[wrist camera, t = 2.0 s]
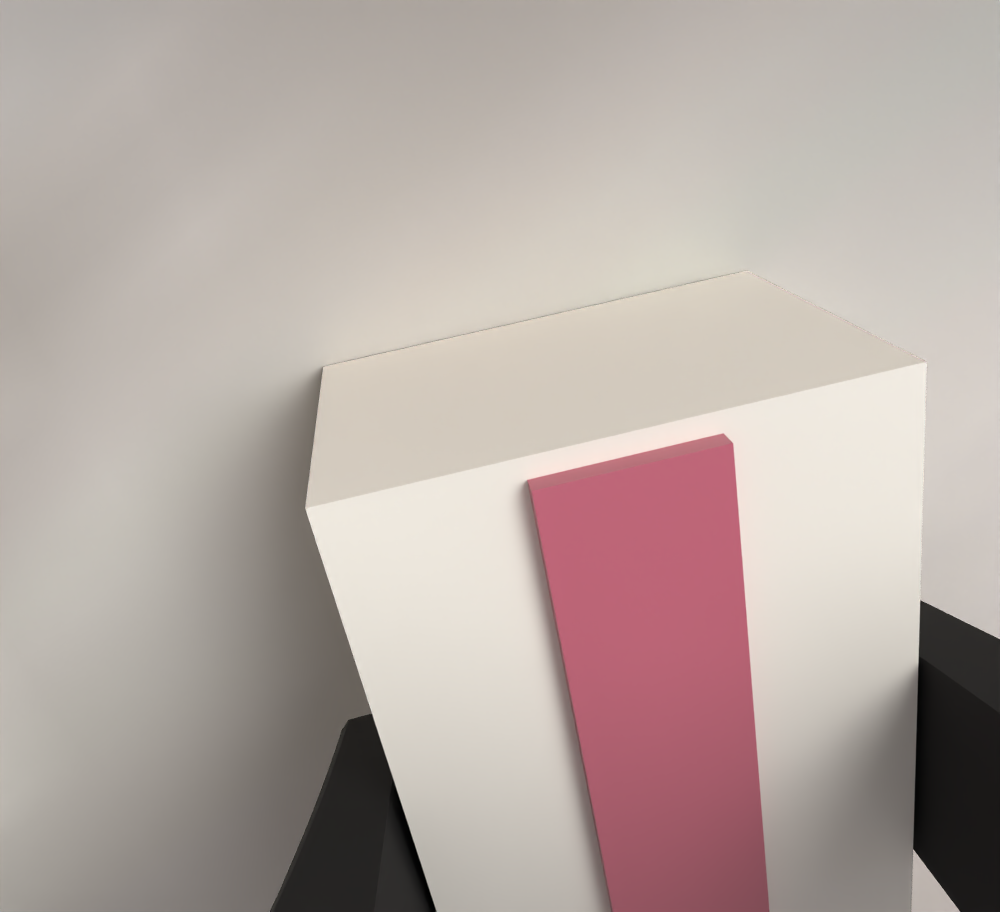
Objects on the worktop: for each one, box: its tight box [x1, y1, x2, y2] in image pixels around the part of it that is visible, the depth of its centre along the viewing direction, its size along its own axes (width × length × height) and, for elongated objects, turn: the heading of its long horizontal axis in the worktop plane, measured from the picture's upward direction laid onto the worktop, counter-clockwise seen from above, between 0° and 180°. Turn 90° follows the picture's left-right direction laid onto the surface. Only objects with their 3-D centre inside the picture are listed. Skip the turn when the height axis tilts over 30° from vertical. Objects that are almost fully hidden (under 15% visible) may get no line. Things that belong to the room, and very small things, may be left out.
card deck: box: [305, 271, 927, 912], centre depth 10 cm, size 5×9×4 cm, turn 11°
